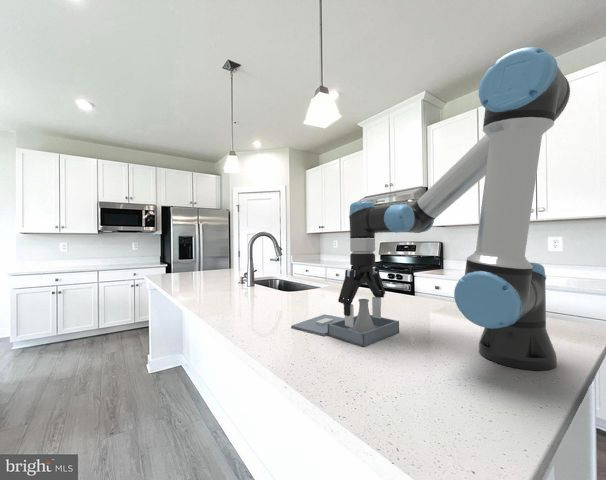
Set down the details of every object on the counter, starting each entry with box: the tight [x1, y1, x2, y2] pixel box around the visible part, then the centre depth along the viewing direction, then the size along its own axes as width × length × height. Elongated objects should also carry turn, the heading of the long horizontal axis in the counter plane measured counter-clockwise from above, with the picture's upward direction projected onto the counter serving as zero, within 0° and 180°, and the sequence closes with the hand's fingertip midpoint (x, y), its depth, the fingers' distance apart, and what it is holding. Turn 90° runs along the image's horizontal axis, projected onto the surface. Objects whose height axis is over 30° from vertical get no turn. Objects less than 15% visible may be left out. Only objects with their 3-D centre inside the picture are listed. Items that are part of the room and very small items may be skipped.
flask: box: [353, 298, 375, 333], centre depth 90 cm, size 7×7×10 cm
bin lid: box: [290, 313, 345, 337], centre depth 100 cm, size 14×19×2 cm
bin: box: [327, 314, 400, 348], centre depth 90 cm, size 13×18×4 cm
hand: (363, 321), depth 90 cm, fingers open, 13 cm apart
